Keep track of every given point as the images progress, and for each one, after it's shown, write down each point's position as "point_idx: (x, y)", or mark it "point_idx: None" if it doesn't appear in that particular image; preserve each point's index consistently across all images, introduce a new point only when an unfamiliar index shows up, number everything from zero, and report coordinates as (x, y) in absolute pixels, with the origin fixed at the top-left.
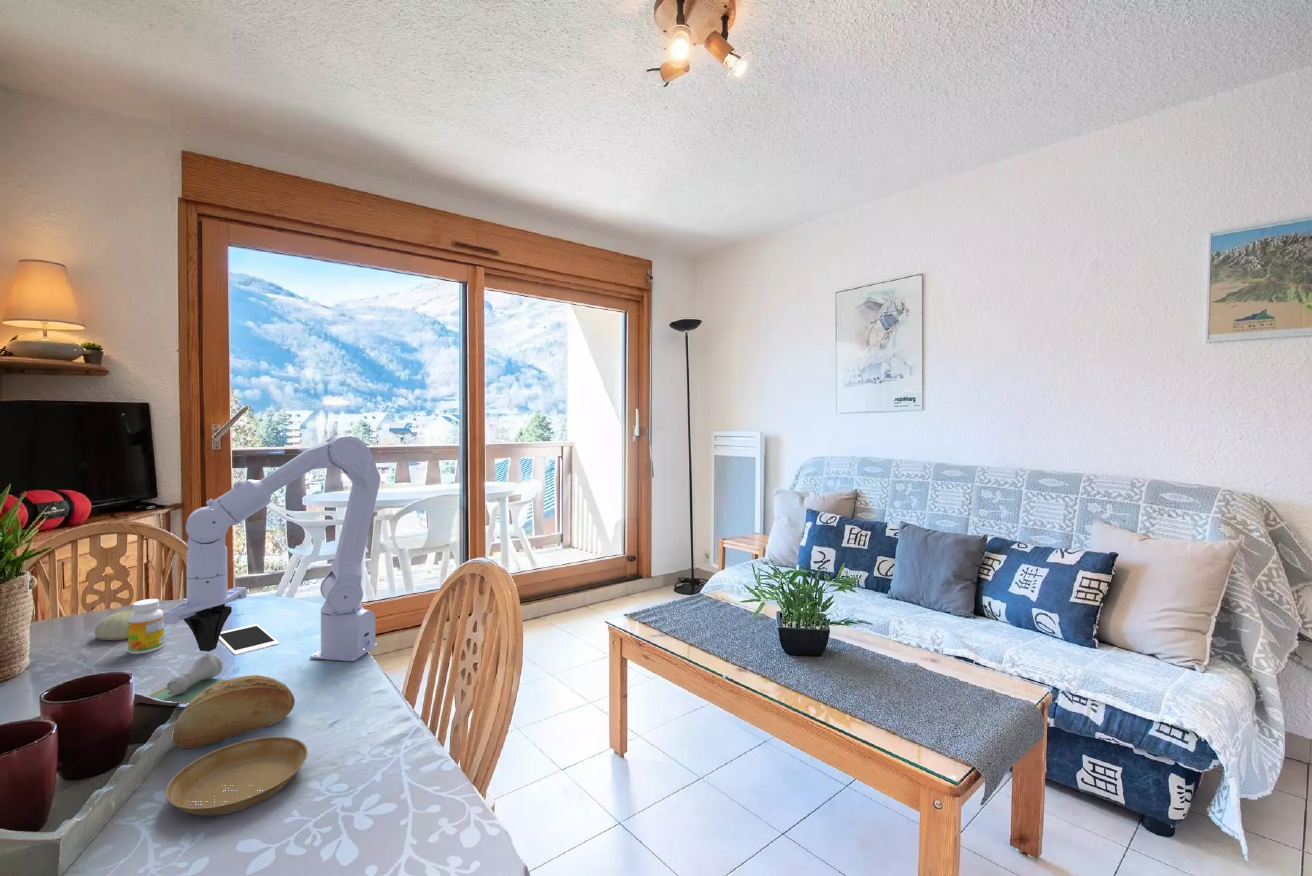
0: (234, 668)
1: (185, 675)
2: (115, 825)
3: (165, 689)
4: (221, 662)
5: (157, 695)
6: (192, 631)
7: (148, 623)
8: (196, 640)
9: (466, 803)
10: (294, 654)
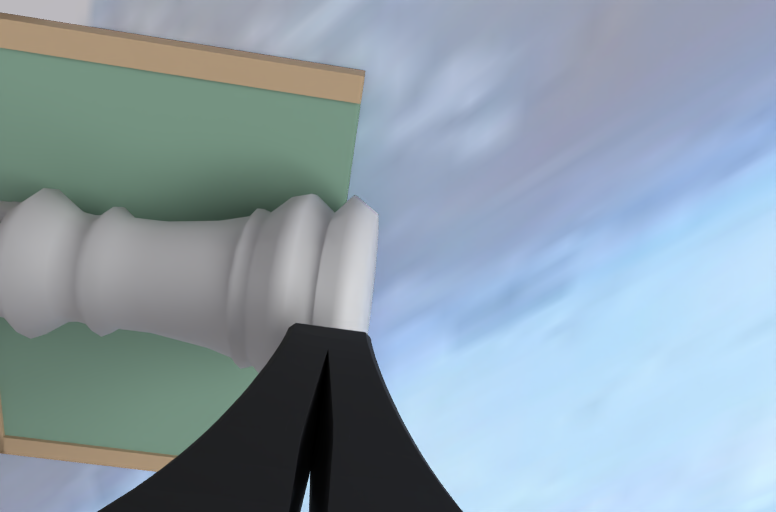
0: (541, 276)
1: (78, 308)
2: None
3: (137, 71)
4: None
5: (41, 90)
6: (190, 448)
7: None
8: (261, 373)
9: None
10: (733, 490)
